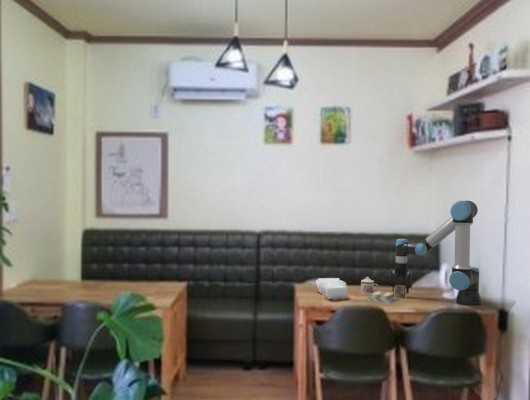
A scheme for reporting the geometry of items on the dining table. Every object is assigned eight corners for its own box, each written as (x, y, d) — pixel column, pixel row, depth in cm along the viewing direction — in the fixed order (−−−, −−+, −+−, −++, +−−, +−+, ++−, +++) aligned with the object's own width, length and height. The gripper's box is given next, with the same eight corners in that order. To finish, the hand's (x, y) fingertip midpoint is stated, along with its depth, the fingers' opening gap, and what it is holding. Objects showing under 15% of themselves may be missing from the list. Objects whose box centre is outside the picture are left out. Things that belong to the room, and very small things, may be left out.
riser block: (394, 299, 353) (394, 293, 353) (388, 302, 343) (388, 296, 343) (376, 297, 359) (376, 291, 359) (370, 300, 349) (370, 294, 349)
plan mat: (399, 300, 353) (400, 299, 353) (392, 304, 340) (392, 303, 340) (373, 296, 363) (373, 296, 362) (364, 301, 349) (364, 300, 349)
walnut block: (406, 297, 362) (406, 285, 362) (403, 299, 357) (404, 286, 357) (397, 296, 365) (397, 284, 365) (394, 298, 360) (395, 285, 360)
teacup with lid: (361, 295, 367) (361, 278, 366) (359, 292, 376) (359, 275, 376) (379, 295, 366) (379, 278, 366) (377, 293, 375) (377, 276, 375)
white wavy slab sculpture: (350, 301, 347) (350, 285, 347) (324, 301, 345) (324, 285, 345) (337, 291, 382) (337, 275, 382) (314, 291, 380) (314, 275, 380)
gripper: (417, 263, 359) (416, 298, 360) (388, 260, 369) (387, 294, 369) (414, 264, 352) (413, 300, 353) (385, 261, 362) (384, 296, 363)
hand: (400, 297), depth 361 cm, fingers open, 7 cm apart
